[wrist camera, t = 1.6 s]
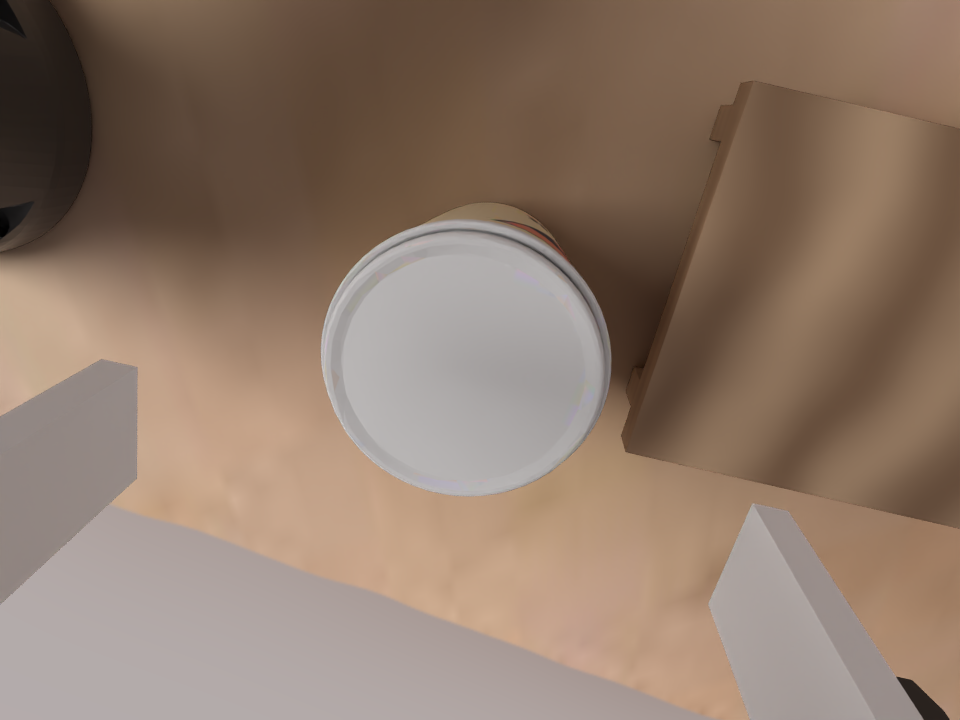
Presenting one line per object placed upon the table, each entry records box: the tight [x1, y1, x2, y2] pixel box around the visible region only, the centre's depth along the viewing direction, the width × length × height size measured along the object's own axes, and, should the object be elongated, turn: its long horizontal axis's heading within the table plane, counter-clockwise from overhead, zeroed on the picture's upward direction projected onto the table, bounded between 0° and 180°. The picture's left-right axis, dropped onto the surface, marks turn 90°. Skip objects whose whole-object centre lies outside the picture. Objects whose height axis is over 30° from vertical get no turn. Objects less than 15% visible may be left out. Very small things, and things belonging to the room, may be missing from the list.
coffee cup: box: [321, 202, 611, 496], centre depth 25 cm, size 9×9×12 cm
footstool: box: [621, 81, 960, 529], centre depth 27 cm, size 15×15×6 cm
